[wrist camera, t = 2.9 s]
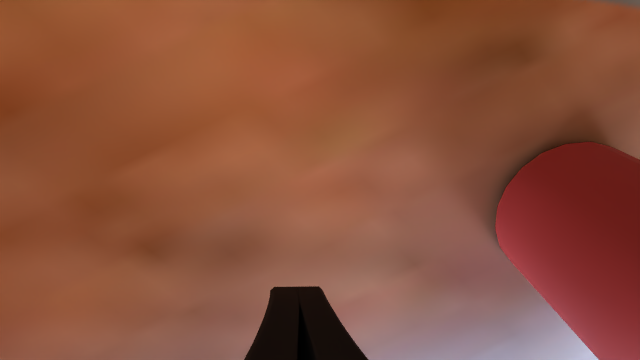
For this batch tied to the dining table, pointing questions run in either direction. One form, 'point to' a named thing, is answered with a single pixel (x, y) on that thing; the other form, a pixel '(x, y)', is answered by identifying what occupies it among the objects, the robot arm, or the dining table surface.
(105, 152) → the dining table surface
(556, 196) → the beer can
